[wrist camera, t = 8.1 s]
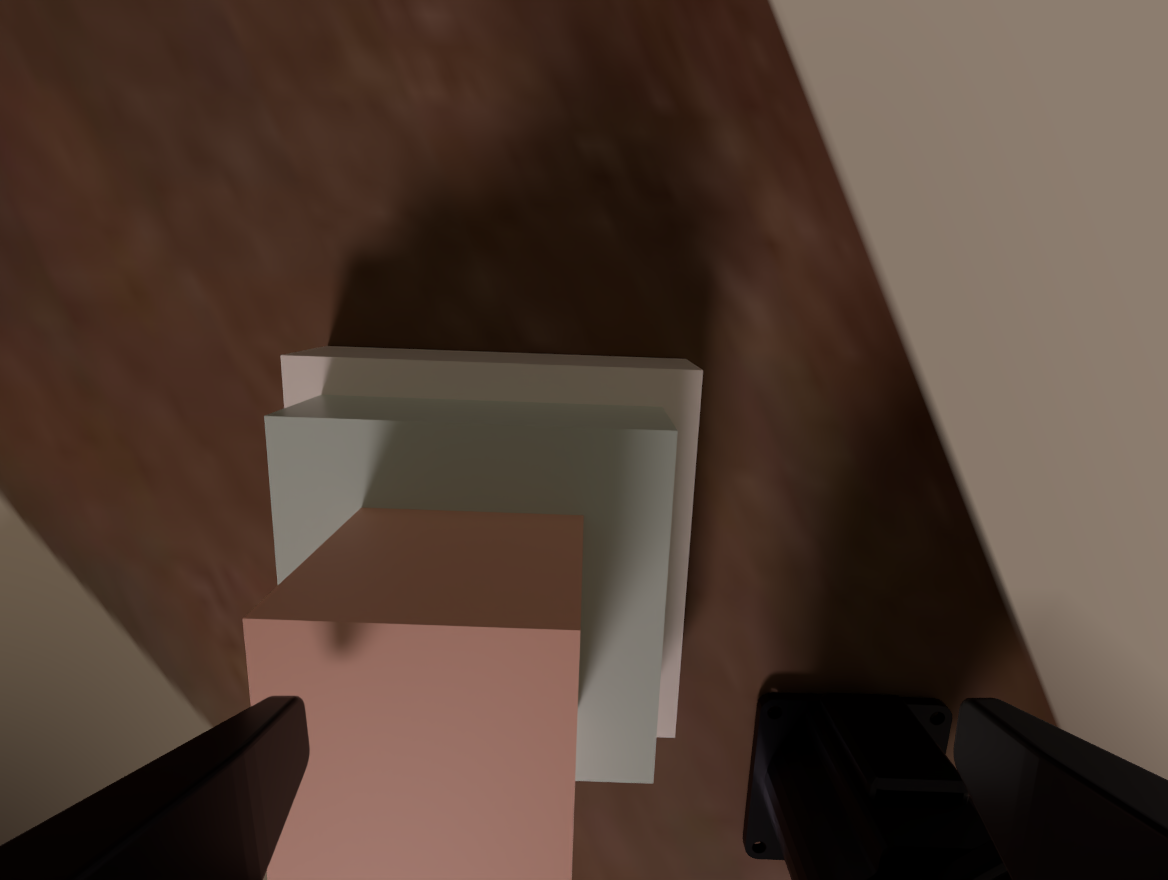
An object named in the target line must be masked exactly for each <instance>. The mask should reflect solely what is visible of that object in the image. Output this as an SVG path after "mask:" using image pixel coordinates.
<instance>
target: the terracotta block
mask: <svg viewBox="0 0 1168 880" xmlns="http://www.w3.org/2000/svg"><path fill="white" fill-rule="evenodd" d="M583 523H584V515H559V514H531V513H502V512H474V511H445V510H417V509H389V508H360V509H359V510H358V511H357V512H356V513H355V514H354V515H353V516H352V517H351V518H350V519H349V520H347V521H346V522H345V523H344V524H343V525H342V526H341V527H340V528H339V529H338V530H337V531H336V532H335V533H334V534H332V535H331V536H330V537H329V538H328V539H327V540H326V541H325V542H324V543H323V544H322V545H321V546H320V547H319V548H317V549H316V550H315V551H314V552H313V553H312V554H311V555H310V556H309V557H308V558H307V559H306V560H305V561H304V562H303V563H301V564H300V565H299V566H298V567H297V568H296V569H295V570H294V571H293V572H292V573H291V574H290V575H289V576H288V577H286V578H285V579H284V580H283V581H282V582H281V583H280V584H279V585H278V586H277V587H276V588H275V589H274V590H273V591H271V592H270V593H269V594H268V595H267V596H266V597H265V598H264V599H263V600H262V601H261V602H260V603H259V604H258V605H256V606H255V607H254V608H253V609H252V610H251V611H250V612H249V613H248V614H247V615H246V616H245V617H244V618H243V628H244V639H245V649H246V660H247V670H248V681H249V691H250V701H251V706H253V705H255V704H257V703H258V702H260V701H262V700H264V699H266V698H267V697H270V696H299V697H300V698H302V699H303V702H304V704H305V710H306V719H307V728H308V736H309V745H310V755H309V761H308V765H307V768H306V771H305V773H304V776H303V778H302V781H301V784H300V786H299V789H298V791H297V794H296V796H295V799H294V802H293V804H292V807H291V809H290V812H289V815H288V817H287V820H286V822H285V825H284V827H283V830H282V833H281V835H280V838H279V840H278V843H277V846H276V848H275V851H274V853H273V856H272V859H271V861H270V864H269V866H268V868H267V879H268V880H572V853H573V825H574V798H575V770H576V742H577V714H578V687H579V659H580V631H581V595H582V559H583Z"/></svg>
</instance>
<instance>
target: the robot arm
mask: <svg viewBox="0 0 1168 880" xmlns="http://www.w3.org/2000/svg"><path fill="white" fill-rule="evenodd" d="M773 706H778V709H777V710H775V711H772V712H770V711H768V709H769V708H771V707H773ZM935 712H938V714H937V715H936V716H934V717H931V715H932V714H933V713H935ZM951 723H952V713H951V711H950V710H949V708H948V707H947V706H946V705H945V704H944V703H943V702H942V701H941V700H939V699H935V698H916V697H899V696H898V695H881V694H853V693H826V694H805V693H777V692H772V693H767V694H765V695H763V696H762V697H761V698H760V699H759V700H758V703H757V710H756V719H755V728H754V738H753V747H752V756H751V765H750V774H749V783H748V793H747V802H746V811H745V820H744V829H743V843H744V847H745V850H746V852H747V854H748V855H749V856H750V857H752V858H755V859H772V860H785V862H786V865H787V868H788V871H789V874H790V877H791V879H792V880H1168V780H1166V779H1164V778H1162V777H1160V776H1158V775H1156V774H1154V773H1152V772H1149V771H1147V770H1145V769H1143V768H1141V767H1139V766H1137V765H1135V764H1133V763H1131V762H1129V761H1127V760H1125V759H1122V758H1120V757H1118V756H1116V755H1114V754H1112V753H1110V752H1108V751H1106V750H1104V749H1101V748H1099V747H1097V746H1095V745H1093V744H1091V743H1089V742H1087V741H1085V740H1083V739H1081V738H1079V737H1076V736H1074V735H1072V734H1070V733H1068V732H1066V731H1064V730H1062V729H1060V728H1058V727H1056V726H1054V725H1052V724H1049V723H1047V722H1045V721H1043V720H1041V719H1039V718H1037V717H1035V716H1033V715H1031V714H1029V713H1027V712H1024V711H1022V710H1020V709H1018V708H1016V707H1014V706H1012V705H1010V704H1008V703H1006V702H1004V701H1001V700H999V699H996V698H967V699H965V700H964V701H962V703H961V705H960V709H959V715H958V722H957V728H956V735H955V742H954V761H955V765H956V768H957V769H956V768H955V766H954V765H953V764H952V763H951V761H950V760H949V759H948V757H947V756H946V755H945V754H946V749H947V744H948V739H949V733H950V728H951ZM309 755H310V745H309V736H308V728H307V719H306V710H305V704H304V702H303V699H302V698H300V697H299V696H270V697H267V698H266V699H264V700H262V701H260V702H258V703H257V704H255V705H253V706H251V707H249V708H248V709H246V710H244V711H242V712H240V713H239V714H237V715H235V716H233V717H231V718H230V719H228V720H226V721H224V722H222V723H221V724H219V725H217V726H215V727H213V728H211V729H210V730H208V731H206V732H204V733H202V734H201V735H199V736H197V737H195V738H193V739H192V740H190V741H188V742H186V743H185V744H183V745H181V746H179V747H177V748H176V749H174V750H172V751H170V752H168V753H167V754H165V755H163V756H161V757H159V758H157V759H156V760H154V761H152V762H150V763H149V764H147V765H145V766H143V767H141V768H139V769H138V770H136V771H134V772H132V773H130V774H129V775H127V776H125V777H124V778H121V779H120V780H118V781H116V782H114V783H112V784H111V785H109V786H107V787H105V788H103V789H102V790H100V791H98V792H96V793H94V794H92V795H91V796H89V797H87V798H85V799H83V800H82V801H80V802H78V803H76V804H75V805H73V806H71V807H69V808H67V809H65V810H64V811H62V812H60V813H58V814H56V815H55V816H53V817H51V818H49V819H47V820H46V821H44V822H42V823H40V824H39V825H37V826H35V827H33V828H31V829H29V830H28V831H26V832H24V833H22V834H20V835H19V836H17V837H15V838H13V839H11V840H10V841H8V842H6V843H4V844H2V845H1V846H0V880H263V878H264V876H265V873H266V871H267V868H268V866H269V864H270V861H271V859H272V856H273V853H274V851H275V848H276V846H277V843H278V840H279V838H280V835H281V833H282V830H283V827H284V825H285V822H286V820H287V817H288V815H289V812H290V809H291V807H292V804H293V802H294V799H295V796H296V794H297V791H298V789H299V786H300V784H301V781H302V778H303V776H304V773H305V771H306V768H307V765H308V761H309ZM759 841H760V842H761V843H759V844H754V843H756V842H759Z"/></svg>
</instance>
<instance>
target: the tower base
mask: <svg viewBox="0 0 1168 880" xmlns="http://www.w3.org/2000/svg"><path fill="white" fill-rule="evenodd" d="M281 369H282V382H283V396H284V409H282V410H279V411H276V412H274V413H271V414H268V415H265V416H264V419H265V432H266V444H267V457H268V469H269V482H270V494H271V507H272V519H273V532H274V544H275V557H276V569H277V582H278V585H279V584H280V583H281V582H282V581H283V580H284V579H285V578H286V577H288V576H289V575H290V574H291V573H292V572H293V571H294V570H295V569H296V568H297V567H298V566H299V565H300V564H301V563H303V562H304V561H305V560H306V559H307V558H308V557H309V556H310V555H311V554H312V553H313V552H314V551H315V550H316V549H317V548H319V547H320V546H321V545H322V544H323V543H324V542H325V541H326V540H327V539H328V538H329V537H330V536H331V535H332V534H334V533H335V532H336V531H337V530H338V529H339V528H340V527H341V526H342V525H343V524H344V523H345V522H346V521H347V520H349V519H350V518H351V517H352V516H353V515H354V514H355V513H356V512H357V511H358V510H359V509H360V508H389V509H417V510H445V511H474V512H502V513H531V514H559V515H584V523H583V559H582V595H581V631H580V659H579V687H578V714H577V742H576V770H575V781H598V782H625V783H653V779H654V765H655V750H656V737H668V738H675V730H676V717H677V704H678V691H679V678H680V665H681V652H682V639H683V626H684V613H685V600H686V587H687V574H688V561H689V548H690V535H691V522H692V509H693V496H694V483H695V470H696V457H697V444H698V431H699V418H700V405H701V392H702V379H703V370H702V369H700V368H699V367H698V366H696V365H695V364H693V363H692V362H690V361H689V360H687V359H677V358H649V357H621V356H593V355H565V354H537V353H509V352H481V351H453V350H425V349H397V348H369V347H341V346H325V347H320V348H314V349H309V350H304V351H299V352H294V353H289V354H284V355H281Z"/></svg>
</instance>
